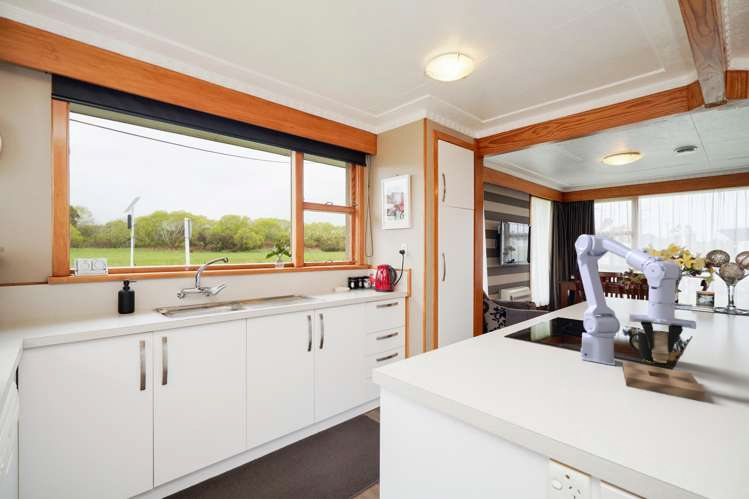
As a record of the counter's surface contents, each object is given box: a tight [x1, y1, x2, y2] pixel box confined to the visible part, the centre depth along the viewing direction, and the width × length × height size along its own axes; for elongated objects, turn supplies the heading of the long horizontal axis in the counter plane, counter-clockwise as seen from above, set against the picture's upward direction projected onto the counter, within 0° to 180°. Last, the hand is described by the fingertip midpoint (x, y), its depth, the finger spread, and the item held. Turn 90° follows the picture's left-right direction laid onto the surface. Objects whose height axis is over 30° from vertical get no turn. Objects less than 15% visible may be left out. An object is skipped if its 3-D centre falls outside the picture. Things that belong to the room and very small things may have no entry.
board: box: [622, 361, 706, 403], centre depth 95 cm, size 16×16×2 cm
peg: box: [652, 330, 670, 364], centre depth 95 cm, size 4×4×8 cm
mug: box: [628, 328, 671, 364], centre depth 117 cm, size 12×9×10 cm
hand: (660, 349), depth 95 cm, fingers closed on peg, 4 cm apart
